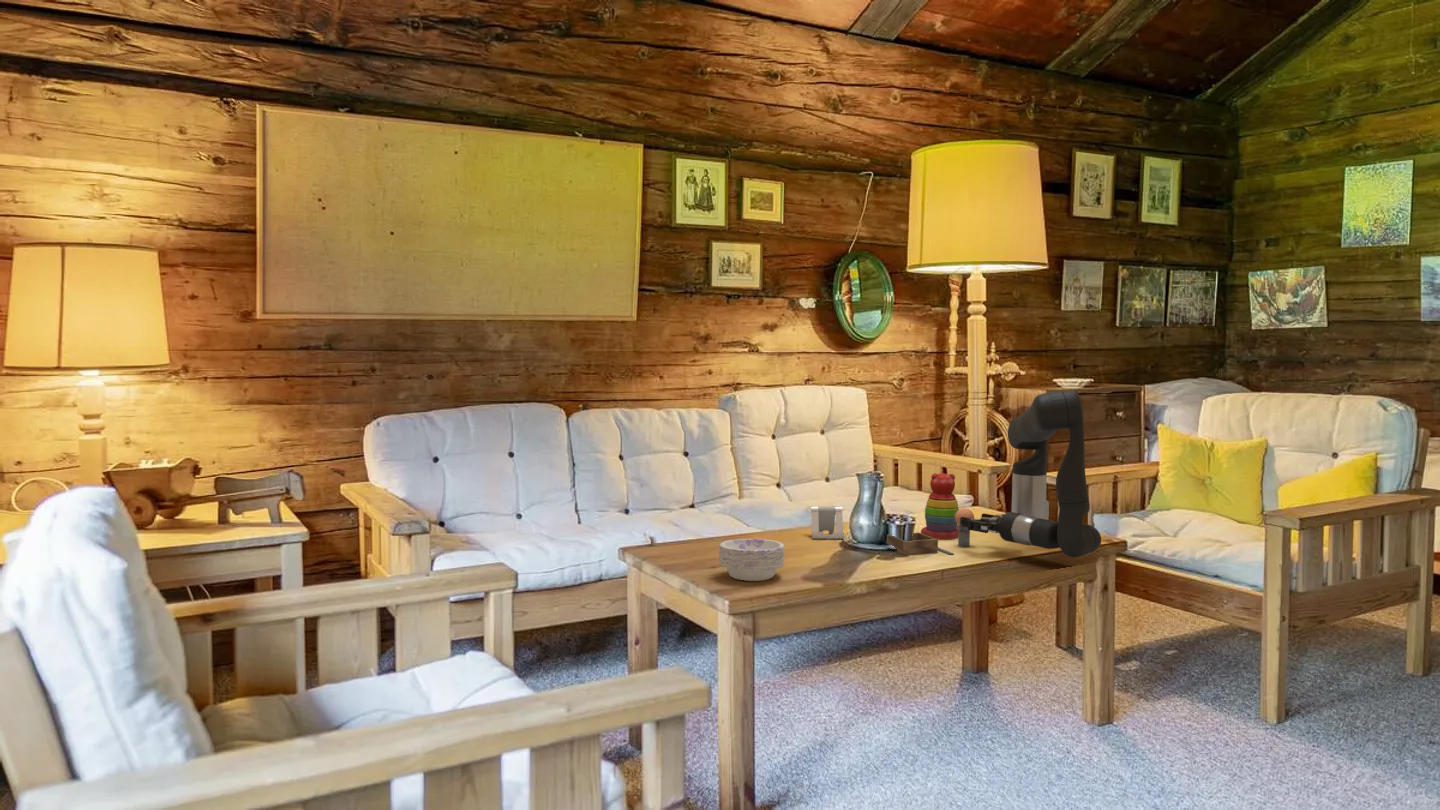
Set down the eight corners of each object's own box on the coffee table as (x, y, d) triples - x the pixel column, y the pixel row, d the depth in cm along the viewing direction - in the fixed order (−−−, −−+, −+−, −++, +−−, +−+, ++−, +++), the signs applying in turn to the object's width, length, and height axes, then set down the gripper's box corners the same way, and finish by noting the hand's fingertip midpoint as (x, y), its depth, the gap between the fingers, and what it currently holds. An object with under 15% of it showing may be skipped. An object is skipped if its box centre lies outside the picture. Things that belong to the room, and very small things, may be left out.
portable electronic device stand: (812, 540, 279) (812, 509, 278) (810, 534, 287) (810, 504, 286) (843, 540, 279) (844, 510, 278) (840, 534, 286) (841, 505, 286)
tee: (966, 543, 274) (966, 524, 274) (973, 546, 270) (974, 526, 270) (953, 544, 273) (954, 524, 272) (961, 547, 269) (962, 527, 269)
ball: (967, 524, 274) (967, 506, 274) (977, 528, 270) (978, 509, 269) (951, 525, 273) (951, 507, 272) (961, 529, 268) (961, 510, 268)
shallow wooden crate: (918, 545, 272) (918, 532, 272) (937, 552, 263) (937, 539, 263) (886, 547, 269) (886, 534, 269) (904, 555, 260) (905, 541, 260)
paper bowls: (763, 566, 247) (763, 534, 247) (796, 580, 234) (797, 546, 233) (707, 573, 240) (707, 540, 239) (739, 588, 227) (739, 553, 226)
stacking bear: (958, 533, 289) (959, 470, 287) (963, 540, 279) (964, 476, 277) (920, 532, 290) (921, 470, 288) (923, 539, 280) (924, 475, 278)
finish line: (921, 542, 276) (921, 541, 276) (953, 554, 261) (953, 553, 261) (917, 542, 275) (917, 541, 275) (949, 555, 260) (949, 553, 260)
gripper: (1040, 511, 260) (989, 502, 273) (1004, 517, 251) (953, 507, 265) (1039, 540, 260) (988, 529, 274) (1003, 547, 252) (953, 536, 265)
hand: (971, 519), depth 269 cm, fingers open, 8 cm apart
